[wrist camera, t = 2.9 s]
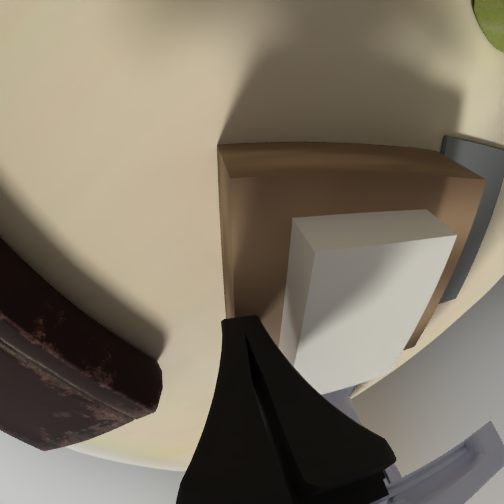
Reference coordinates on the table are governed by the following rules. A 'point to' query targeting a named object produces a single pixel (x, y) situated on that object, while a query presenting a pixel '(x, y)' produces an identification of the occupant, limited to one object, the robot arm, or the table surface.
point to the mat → (493, 171)
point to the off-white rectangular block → (358, 291)
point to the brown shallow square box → (325, 209)
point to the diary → (64, 366)
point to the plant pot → (491, 20)
